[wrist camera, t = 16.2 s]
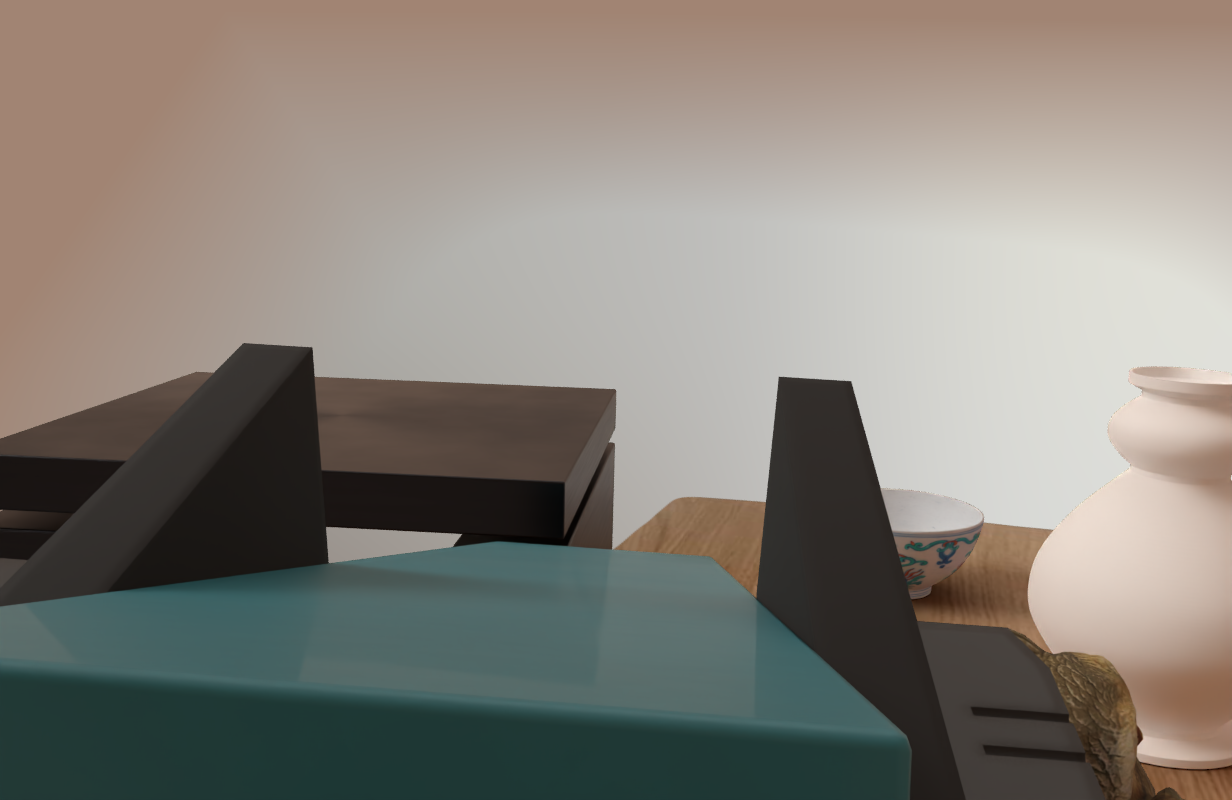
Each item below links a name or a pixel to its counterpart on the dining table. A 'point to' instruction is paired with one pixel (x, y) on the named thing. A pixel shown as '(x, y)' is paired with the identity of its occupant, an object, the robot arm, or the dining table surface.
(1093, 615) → the decorative vase
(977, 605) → the dining table surface
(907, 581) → the chinaware
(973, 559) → the dining table surface
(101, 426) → the shelf stand
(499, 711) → the teal rectangular block
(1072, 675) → the figurine
